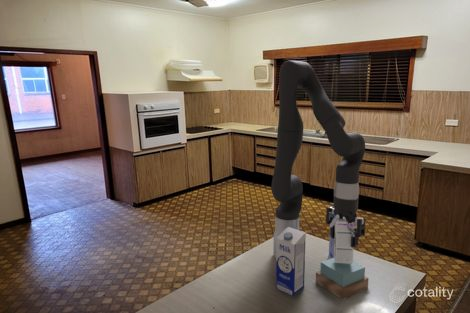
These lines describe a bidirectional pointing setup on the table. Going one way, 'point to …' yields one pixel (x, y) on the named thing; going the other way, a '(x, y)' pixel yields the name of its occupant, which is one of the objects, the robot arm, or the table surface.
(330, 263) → the teal block
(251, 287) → the table surface
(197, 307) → the table surface
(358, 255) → the table surface
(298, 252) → the milk carton
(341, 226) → the syrup box
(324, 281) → the walnut slab
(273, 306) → the table surface
